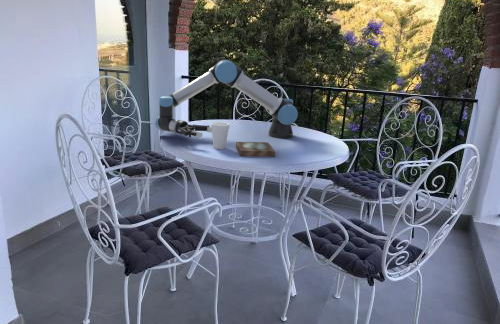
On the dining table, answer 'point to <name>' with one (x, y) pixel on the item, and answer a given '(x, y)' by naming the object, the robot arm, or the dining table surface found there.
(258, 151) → the walnut base
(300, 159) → the dining table surface
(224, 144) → the foam cup
